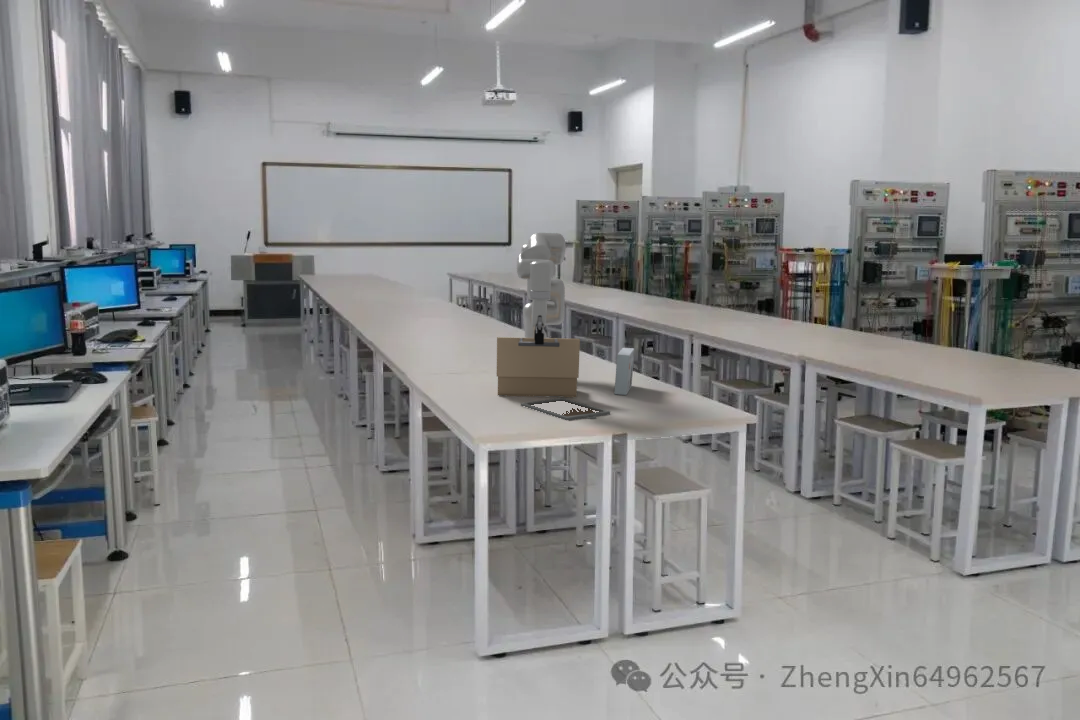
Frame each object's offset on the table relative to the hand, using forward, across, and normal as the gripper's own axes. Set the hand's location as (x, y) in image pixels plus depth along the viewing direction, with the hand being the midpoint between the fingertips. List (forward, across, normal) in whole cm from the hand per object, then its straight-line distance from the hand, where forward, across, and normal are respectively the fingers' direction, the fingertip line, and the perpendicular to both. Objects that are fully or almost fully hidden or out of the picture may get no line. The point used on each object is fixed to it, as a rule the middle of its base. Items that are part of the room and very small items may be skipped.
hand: (538, 342), depth 313 cm
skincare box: (+23, -25, +35) cm, 49 cm away
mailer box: (+22, -16, 0) cm, 27 cm away
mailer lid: (+7, -8, 0) cm, 11 cm away
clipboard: (+23, +15, +10) cm, 29 cm away
